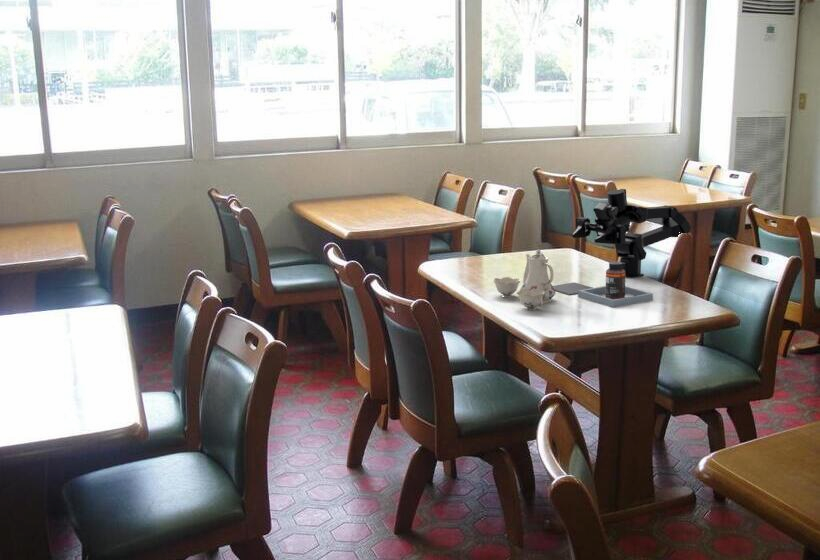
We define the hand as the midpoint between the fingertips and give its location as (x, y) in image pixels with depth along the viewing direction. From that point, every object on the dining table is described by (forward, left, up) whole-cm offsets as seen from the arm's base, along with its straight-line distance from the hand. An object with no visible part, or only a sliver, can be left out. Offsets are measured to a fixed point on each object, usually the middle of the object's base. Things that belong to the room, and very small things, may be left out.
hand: (583, 238), depth 291 cm
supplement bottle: (+3, +18, -16) cm, 24 cm away
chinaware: (+27, +6, -16) cm, 32 cm away
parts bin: (+3, +18, -16) cm, 24 cm away
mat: (+6, +1, -16) cm, 17 cm away
